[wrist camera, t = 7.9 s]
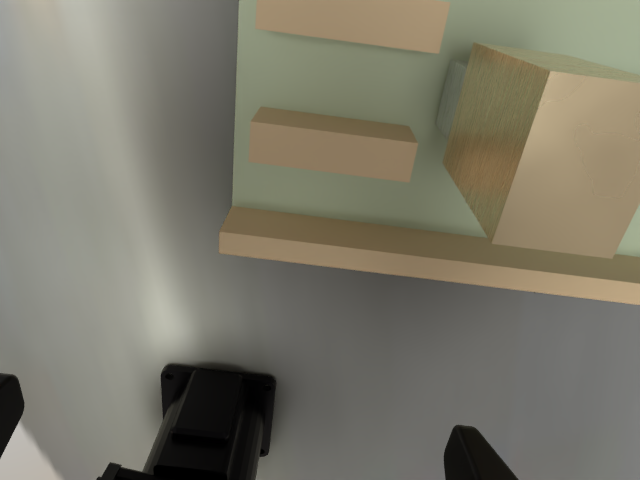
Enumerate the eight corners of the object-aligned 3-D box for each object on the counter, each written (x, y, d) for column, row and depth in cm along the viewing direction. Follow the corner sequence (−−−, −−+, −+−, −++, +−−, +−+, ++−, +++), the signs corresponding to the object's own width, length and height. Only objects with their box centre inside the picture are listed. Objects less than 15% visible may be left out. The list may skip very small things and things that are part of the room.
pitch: (785, 285, 23) (856, 331, 20) (235, 216, 22) (218, 253, 19) (1027, -49, 16) (1191, -59, 13) (250, -165, 15) (228, -204, 12)
